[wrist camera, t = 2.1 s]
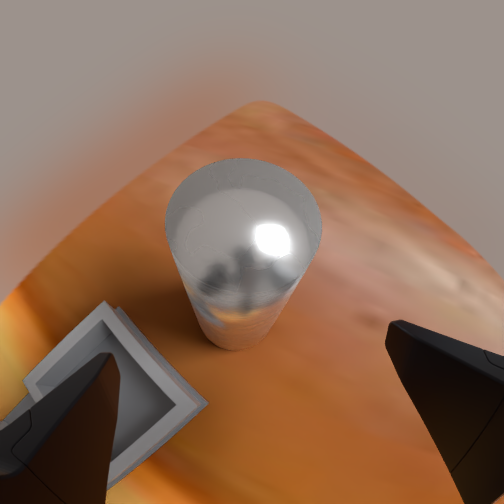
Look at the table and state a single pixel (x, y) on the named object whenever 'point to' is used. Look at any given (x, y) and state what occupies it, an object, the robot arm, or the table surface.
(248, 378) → the table surface
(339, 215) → the table surface
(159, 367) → the grey socket holder
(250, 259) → the cylinder
